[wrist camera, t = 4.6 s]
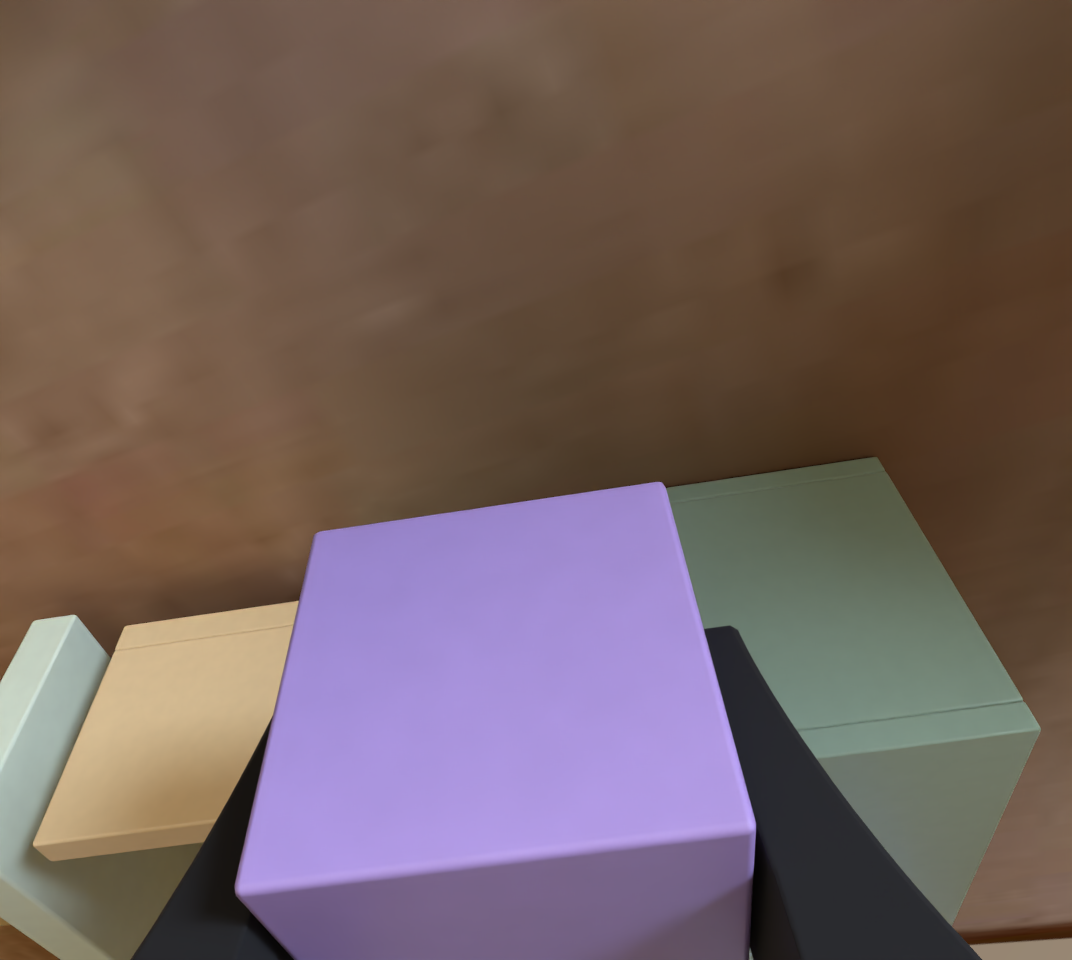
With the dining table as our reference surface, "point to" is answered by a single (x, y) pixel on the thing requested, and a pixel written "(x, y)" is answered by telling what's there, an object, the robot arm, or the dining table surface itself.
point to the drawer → (124, 766)
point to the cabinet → (865, 656)
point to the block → (502, 746)
